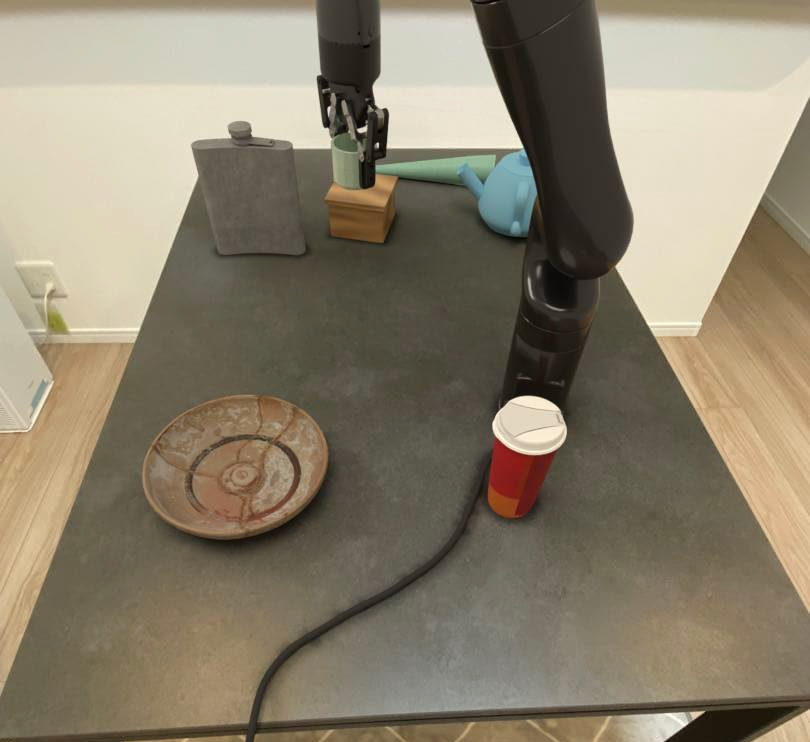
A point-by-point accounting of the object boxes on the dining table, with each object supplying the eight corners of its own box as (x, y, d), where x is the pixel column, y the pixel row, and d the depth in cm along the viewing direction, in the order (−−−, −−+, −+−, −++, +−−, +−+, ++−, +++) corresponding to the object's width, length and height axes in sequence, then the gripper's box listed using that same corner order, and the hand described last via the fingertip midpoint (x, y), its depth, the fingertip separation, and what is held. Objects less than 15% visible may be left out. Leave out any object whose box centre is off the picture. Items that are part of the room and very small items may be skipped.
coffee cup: (536, 475, 81) (562, 391, 69) (546, 524, 77) (576, 445, 64) (474, 476, 81) (490, 392, 69) (481, 526, 77) (498, 446, 64)
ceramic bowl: (365, 458, 82) (363, 433, 78) (257, 587, 71) (249, 566, 67) (232, 396, 89) (224, 369, 84) (115, 506, 77) (99, 481, 73)
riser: (384, 245, 111) (384, 207, 105) (327, 237, 112) (324, 199, 106) (397, 214, 117) (398, 176, 111) (343, 206, 118) (340, 169, 112)
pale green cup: (370, 194, 84) (370, 155, 80) (328, 189, 84) (326, 150, 80) (379, 173, 87) (379, 135, 83) (338, 168, 87) (336, 130, 83)
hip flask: (216, 255, 108) (184, 131, 91) (219, 242, 110) (189, 119, 94) (305, 255, 109) (289, 132, 92) (306, 242, 111) (291, 120, 94)
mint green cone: (365, 138, 122) (496, 149, 120) (366, 167, 127) (492, 178, 125) (360, 151, 119) (495, 162, 117) (361, 180, 124) (491, 191, 122)
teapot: (554, 256, 110) (572, 184, 99) (446, 244, 111) (452, 172, 101) (557, 200, 121) (572, 130, 110) (458, 190, 122) (464, 120, 111)
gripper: (291, 14, 73) (306, 162, 87) (354, 55, 67) (359, 207, 81) (343, 4, 76) (350, 149, 90) (409, 42, 69) (405, 192, 83)
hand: (354, 176), depth 85 cm, fingers closed on pale green cup, 6 cm apart
